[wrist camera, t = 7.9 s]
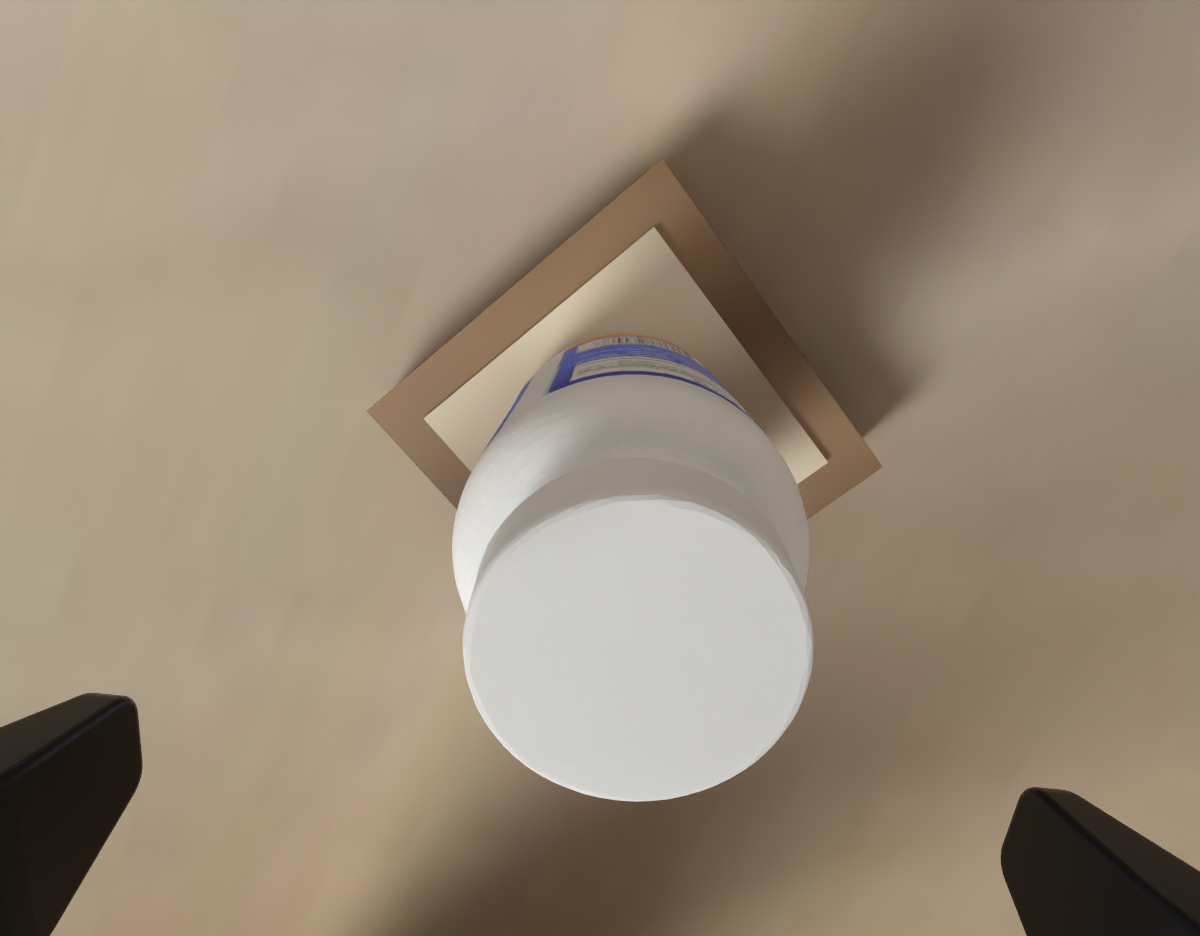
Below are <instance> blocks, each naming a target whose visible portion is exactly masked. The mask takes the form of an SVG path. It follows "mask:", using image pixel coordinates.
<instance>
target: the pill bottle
mask: <svg viewBox="0 0 1200 936" xmlns="http://www.w3.org/2000/svg"><path fill="white" fill-rule="evenodd" d="M809 557H810V539H809V529H808V522H807V518H806V514H805V510H804V505H803V502H802V498H801V495H800V492H799V488H798V486H797V484H796V481H795V479H794V477H793V475H792V473H791V470H790V469H789V467H788V465H787V464H786V462H785V460H784V459H783V457H782V456H781V454H780V453H779V451H778V450H777V449H776V447H775V446H774V444H773V443H772V441H771V440H770V439H769V437H768V436H767V435H766V433H765V432H764V431H763V430H762V429H761V427H760V426H759V425H758V424H757V423H756V422H755V421H754V420H753V418H752V417H751V416H750V415H749V414H748V413H747V411H746V410H745V409H744V408H743V407H742V406H741V405H740V404H739V403H738V402H737V401H736V399H735V398H734V397H733V396H732V395H731V394H730V393H729V392H728V391H727V390H726V389H725V388H724V386H723V385H722V384H721V383H720V382H719V381H718V380H717V379H716V378H715V377H714V376H713V374H712V373H711V372H710V371H709V370H708V369H707V368H706V367H705V366H704V365H703V364H702V363H700V362H699V361H698V360H697V359H696V358H694V357H693V356H692V355H691V354H689V353H688V352H686V351H684V350H683V349H681V348H680V347H678V346H676V345H675V344H673V343H671V342H669V341H666V340H663V339H659V338H655V337H651V336H645V335H640V334H624V333H621V334H610V335H604V336H599V337H594V338H591V339H588V340H585V341H582V342H580V343H577V344H575V345H573V346H571V347H568V348H567V349H565V350H563V351H562V352H560V353H559V354H557V355H555V356H554V357H553V358H552V359H550V360H549V361H548V362H546V363H545V364H544V365H543V366H542V367H541V368H540V369H539V370H538V371H537V372H536V373H535V374H534V375H533V376H532V378H531V379H530V380H529V381H528V382H527V383H526V385H525V386H524V387H523V389H522V390H521V392H520V393H519V395H518V397H517V399H516V400H515V402H514V404H513V406H512V407H511V409H510V411H509V413H508V414H507V416H506V417H505V419H504V420H503V422H502V423H501V425H500V426H499V428H498V430H497V431H496V433H495V434H494V436H493V437H492V439H491V440H490V442H489V443H488V445H487V446H486V448H485V450H484V451H483V453H482V455H481V456H480V458H479V460H478V462H477V463H476V465H475V467H474V468H473V470H472V472H471V474H470V476H469V478H468V480H467V482H466V484H465V487H464V490H463V492H462V495H461V498H460V501H459V505H458V509H457V512H456V517H455V523H454V528H453V539H452V559H453V568H454V575H455V580H456V585H457V589H458V592H459V595H460V598H461V601H462V604H463V607H464V610H465V612H466V619H465V625H464V631H463V657H464V665H465V673H466V677H467V681H468V684H469V688H470V691H471V693H472V696H473V699H474V702H475V704H476V707H477V709H478V710H479V712H480V714H481V716H482V718H483V719H484V721H485V723H486V724H487V726H488V727H489V728H490V730H491V731H492V732H493V734H494V735H495V736H496V738H497V739H498V740H499V741H500V742H501V743H502V744H503V746H504V747H505V748H506V749H507V750H508V751H509V752H510V753H511V754H512V755H513V756H514V757H515V758H517V759H518V760H519V761H521V762H522V763H523V764H524V765H525V766H527V767H528V768H530V769H531V770H533V771H534V772H536V773H537V774H539V775H541V776H543V777H545V778H547V779H548V780H550V781H552V782H554V783H556V784H559V785H561V786H564V787H566V788H569V789H571V790H574V791H577V792H580V793H583V794H586V795H590V796H594V797H598V798H606V799H612V800H620V801H636V802H638V801H655V800H666V799H672V798H676V797H681V796H686V795H689V794H692V793H696V792H700V791H703V790H705V789H708V788H711V787H713V786H716V785H718V784H720V783H722V782H724V781H726V780H728V779H730V778H732V777H733V776H735V775H737V774H739V773H740V772H742V771H744V770H745V769H747V768H748V767H749V766H751V765H752V764H753V763H755V762H756V761H757V760H758V759H759V758H761V757H762V756H763V755H764V754H765V753H766V752H767V751H768V750H769V749H770V748H771V747H772V746H773V745H774V744H775V743H776V742H777V740H778V739H779V738H780V737H781V736H782V734H783V733H784V731H785V730H786V729H787V727H788V726H789V724H790V723H791V721H792V720H793V718H794V717H795V715H796V714H797V712H798V709H799V707H800V705H801V703H802V701H803V699H804V696H805V693H806V690H807V687H808V684H809V680H810V676H811V671H812V667H813V658H814V632H813V624H812V616H811V612H810V609H809V605H808V601H807V598H806V594H805V592H804V591H805V586H806V582H807V577H808V570H809Z"/></svg>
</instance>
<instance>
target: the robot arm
mask: <svg viewBox="0 0 1200 936" xmlns="http://www.w3.org/2000/svg"><path fill="white" fill-rule="evenodd" d="M141 774H142V752H141V741H140V730H139V720H138V711H137V706H136V704H135V702H134V701H133V700H132V699H131V698H129V697H127V696H121V695H111V694H101V693H87V694H83V695H80V696H77V697H75V698H72V699H70V700H67V701H65V702H62V703H60V704H57V705H55V706H52V707H50V708H47V709H45V710H43V711H40V712H38V713H35V714H33V715H30V716H28V717H25V718H23V719H20V720H18V721H15V722H13V723H10V724H8V725H5V726H3V727H0V936H50V935H51V933H52V931H53V930H54V928H55V927H56V925H57V923H58V922H59V920H60V918H61V917H62V915H63V913H64V912H65V910H66V908H67V906H68V905H69V903H70V901H71V900H72V898H73V896H74V895H75V893H76V891H77V890H78V888H79V886H80V884H81V883H82V881H83V879H84V878H85V876H86V874H87V873H88V871H89V869H90V868H91V866H92V864H93V862H94V861H95V859H96V857H97V856H98V854H99V852H100V851H101V849H102V847H103V846H104V844H105V842H106V840H107V839H108V837H109V835H110V834H111V832H112V830H113V829H114V827H115V825H116V823H117V822H118V820H119V818H120V817H121V815H122V813H123V812H124V810H125V808H126V807H127V805H128V803H129V801H130V800H131V798H132V796H133V795H134V793H135V791H136V789H137V786H138V784H139V781H140V778H141ZM1001 866H1002V871H1003V875H1004V878H1005V881H1006V884H1007V886H1008V889H1009V891H1010V894H1011V897H1012V899H1013V902H1014V904H1015V907H1016V909H1017V912H1018V915H1019V917H1020V920H1021V922H1022V925H1023V928H1024V930H1025V933H1026V935H1027V936H1200V871H1198V870H1197V869H1195V868H1193V867H1192V866H1190V865H1189V864H1187V863H1185V862H1184V861H1182V860H1181V859H1179V858H1177V857H1176V856H1174V855H1173V854H1171V853H1169V852H1168V851H1166V850H1165V849H1163V848H1161V847H1160V846H1158V845H1157V844H1155V843H1153V842H1152V841H1150V840H1149V839H1147V838H1145V837H1144V836H1142V835H1141V834H1139V833H1137V832H1136V831H1134V830H1133V829H1131V828H1129V827H1128V826H1126V825H1125V824H1123V823H1121V822H1120V821H1118V820H1117V819H1115V818H1113V817H1112V816H1110V815H1109V814H1107V813H1105V812H1104V811H1102V810H1101V809H1099V808H1097V807H1096V806H1094V805H1093V804H1091V803H1089V802H1088V801H1086V800H1085V799H1083V798H1081V797H1080V796H1078V795H1076V794H1074V793H1072V792H1070V791H1066V790H1059V789H1049V788H1039V787H1032V788H1028V789H1026V790H1025V791H1024V792H1023V793H1022V794H1021V796H1020V798H1019V800H1018V803H1017V806H1016V809H1015V812H1014V814H1013V817H1012V820H1011V823H1010V826H1009V828H1008V831H1007V834H1006V837H1005V840H1004V843H1003V845H1002V849H1001Z"/></svg>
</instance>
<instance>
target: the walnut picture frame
mask: <svg viewBox="0 0 1200 936" xmlns="http://www.w3.org/2000/svg"><path fill="white" fill-rule="evenodd" d="M621 333H624V334H640V335H645V336H651V337H655V338H659V339H663V340H666V341H669V342H671V343H673V344H675V345H676V346H678V347H680V348H681V349H683V350H684V351H686V352H688V353H689V354H691V355H692V356H693V357H694V358H696V359H697V360H698V361H699V362H700V363H702V364H703V365H704V366H705V367H706V368H707V369H708V370H709V371H710V372H711V373H712V374H713V376H714V377H715V378H716V379H717V380H718V381H719V382H720V383H721V384H722V385H723V386H724V388H725V389H726V390H727V391H728V392H729V393H730V394H731V395H732V396H733V397H734V398H735V399H736V401H737V402H738V403H739V404H740V405H741V406H742V407H743V408H744V409H745V410H746V411H747V413H748V414H749V415H750V416H751V417H752V418H753V420H754V421H755V422H756V423H757V424H758V425H759V426H760V427H761V429H762V430H763V431H764V432H765V433H766V435H767V436H768V437H769V439H770V440H771V441H772V443H773V444H774V446H775V447H776V449H777V450H778V451H779V453H780V454H781V456H782V457H783V459H784V460H785V462H786V464H787V465H788V467H789V469H790V470H791V473H792V475H793V477H794V479H795V481H796V484H797V486H798V488H799V492H800V495H801V498H802V502H803V505H804V510H805V514H806V518H807V519H808V518H810V517H811V516H813V515H814V514H815V513H817V512H818V511H820V510H821V509H823V508H824V507H825V506H827V505H828V504H830V503H831V502H833V501H834V500H836V499H837V498H838V497H840V496H841V495H843V494H844V493H846V492H847V491H849V490H850V489H851V488H853V487H854V486H856V485H857V484H859V483H860V482H861V481H863V480H864V479H866V478H867V477H869V476H870V475H872V474H873V473H874V472H876V471H877V470H879V469H880V468H882V465H881V464H880V462H879V461H878V460H877V458H876V457H875V455H874V454H873V453H872V451H871V450H870V448H869V447H868V446H867V444H866V443H865V441H864V440H863V439H862V437H861V436H860V434H859V433H858V432H857V430H856V429H855V427H854V426H853V425H852V423H851V422H850V420H849V419H848V418H847V416H846V415H845V413H844V412H843V411H842V409H841V408H840V406H839V405H838V404H837V402H836V401H835V399H834V398H833V397H832V395H831V394H830V392H829V391H828V390H827V388H826V387H825V386H824V384H823V383H822V381H821V380H820V379H819V377H818V376H817V374H816V373H815V372H814V370H813V369H812V367H811V366H810V365H809V363H808V362H807V360H806V359H805V358H804V356H803V355H802V353H801V352H800V351H799V349H798V348H797V346H796V345H795V344H794V342H793V341H792V339H791V338H790V337H789V335H788V334H787V332H786V331H785V330H784V328H783V327H782V325H781V324H780V323H779V321H778V320H777V318H776V317H775V316H774V314H773V313H772V311H771V310H770V309H769V307H768V306H767V305H766V303H765V302H764V300H763V299H762V298H761V296H760V295H759V293H758V292H757V291H756V289H755V288H754V286H753V285H752V284H751V282H750V281H749V279H748V278H747V277H746V275H745V274H744V272H743V271H742V270H741V268H740V267H739V265H738V264H737V263H736V261H735V260H734V258H733V257H732V256H731V254H730V253H729V251H728V250H727V249H726V247H725V246H724V244H723V243H722V242H721V240H720V239H719V237H718V236H717V235H716V233H715V232H714V230H713V229H712V228H711V226H710V225H709V224H708V222H707V221H706V219H705V218H704V217H703V215H702V214H701V212H700V211H699V210H698V208H697V207H696V205H695V204H694V203H693V201H692V200H691V198H690V197H689V196H688V194H687V193H686V191H685V190H684V189H683V187H682V186H681V184H680V183H679V182H678V180H677V179H676V177H675V176H674V175H673V173H672V172H671V170H670V169H669V168H668V166H667V165H666V163H665V162H664V161H663V159H661V160H660V161H659V162H658V163H657V164H655V165H654V166H653V167H652V168H651V169H650V170H648V171H647V172H646V173H645V174H644V175H643V176H641V177H640V178H639V179H638V180H637V181H636V182H634V183H633V184H632V185H631V186H630V187H629V188H627V189H626V190H625V191H624V192H623V193H622V194H620V195H619V196H618V197H617V198H616V199H614V200H613V201H612V202H611V203H610V204H609V205H607V206H606V207H605V208H604V209H603V210H602V211H600V212H599V213H598V214H597V215H596V216H595V217H593V218H592V219H591V220H590V221H589V222H588V223H586V224H585V225H584V226H583V227H582V228H580V229H579V230H578V231H577V232H576V233H575V234H573V235H572V236H571V237H570V238H569V239H568V240H566V241H565V242H564V243H563V244H562V245H561V246H559V247H558V248H557V249H556V250H555V251H554V252H552V253H551V254H550V255H549V256H548V257H547V258H545V259H544V260H543V261H542V262H541V263H539V264H538V265H537V266H536V267H535V268H534V269H532V270H531V271H530V272H529V273H528V274H527V275H525V276H524V277H523V278H522V279H521V280H520V281H518V282H517V283H516V284H515V285H514V286H513V287H511V288H510V289H509V290H508V291H507V292H506V293H504V294H503V295H502V296H501V297H500V298H498V299H497V300H496V301H495V302H494V303H493V304H491V305H490V306H489V307H488V308H487V309H486V310H484V311H483V312H482V313H481V314H480V315H479V316H477V317H476V318H475V319H474V320H473V321H472V322H470V323H469V324H468V325H467V326H466V327H464V328H463V329H462V330H461V331H460V332H459V333H457V334H456V335H455V336H454V337H453V338H452V339H450V340H449V341H448V342H447V343H446V344H445V345H443V346H442V347H441V348H440V349H439V350H438V351H436V352H435V353H434V354H433V355H432V356H431V357H429V358H428V359H427V360H426V361H425V362H423V363H422V364H421V365H420V366H419V367H418V368H416V369H415V370H414V371H413V372H412V373H411V374H409V375H408V376H407V377H406V378H405V379H404V380H402V381H401V382H400V383H399V384H398V385H397V386H395V387H394V388H393V389H392V390H391V391H389V392H388V393H387V394H386V395H385V396H384V397H382V398H381V399H380V400H379V401H378V402H377V403H375V404H374V405H373V406H372V407H371V408H370V409H368V410H367V412H368V413H369V414H370V415H371V416H372V417H373V418H374V419H375V421H376V422H377V423H378V424H379V425H380V426H381V427H382V428H383V429H384V430H385V431H386V432H387V434H388V435H389V436H390V437H391V438H392V439H393V440H394V441H395V442H396V443H397V444H398V446H399V447H400V448H401V449H402V450H403V451H404V452H405V453H406V454H407V455H408V456H409V458H410V459H411V460H412V461H413V462H414V463H415V464H416V465H417V466H418V467H419V468H420V470H421V471H422V472H423V473H424V474H425V475H426V476H427V477H428V478H429V479H430V480H431V482H432V483H433V484H434V485H435V486H436V487H437V488H438V489H439V490H440V491H441V492H442V494H443V495H444V496H445V497H446V498H447V499H448V500H449V501H450V502H451V503H452V504H453V505H454V507H455V508H456V509H458V505H459V501H460V498H461V495H462V492H463V490H464V487H465V484H466V482H467V480H468V478H469V476H470V474H471V472H472V470H473V468H474V467H475V465H476V463H477V462H478V460H479V458H480V456H481V455H482V453H483V451H484V450H485V448H486V446H487V445H488V443H489V442H490V440H491V439H492V437H493V436H494V434H495V433H496V431H497V430H498V428H499V426H500V425H501V423H502V422H503V420H504V419H505V417H506V416H507V414H508V413H509V411H510V409H511V407H512V406H513V404H514V402H515V400H516V399H517V397H518V395H519V393H520V392H521V390H522V389H523V387H524V386H525V385H526V383H527V382H528V381H529V380H530V379H531V378H532V376H533V375H534V374H535V373H536V372H537V371H538V370H539V369H540V368H541V367H542V366H543V365H544V364H545V363H546V362H548V361H549V360H550V359H552V358H553V357H554V356H555V355H557V354H559V353H560V352H562V351H563V350H565V349H567V348H568V347H571V346H573V345H575V344H577V343H580V342H582V341H585V340H588V339H591V338H594V337H599V336H604V335H610V334H621Z"/></svg>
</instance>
